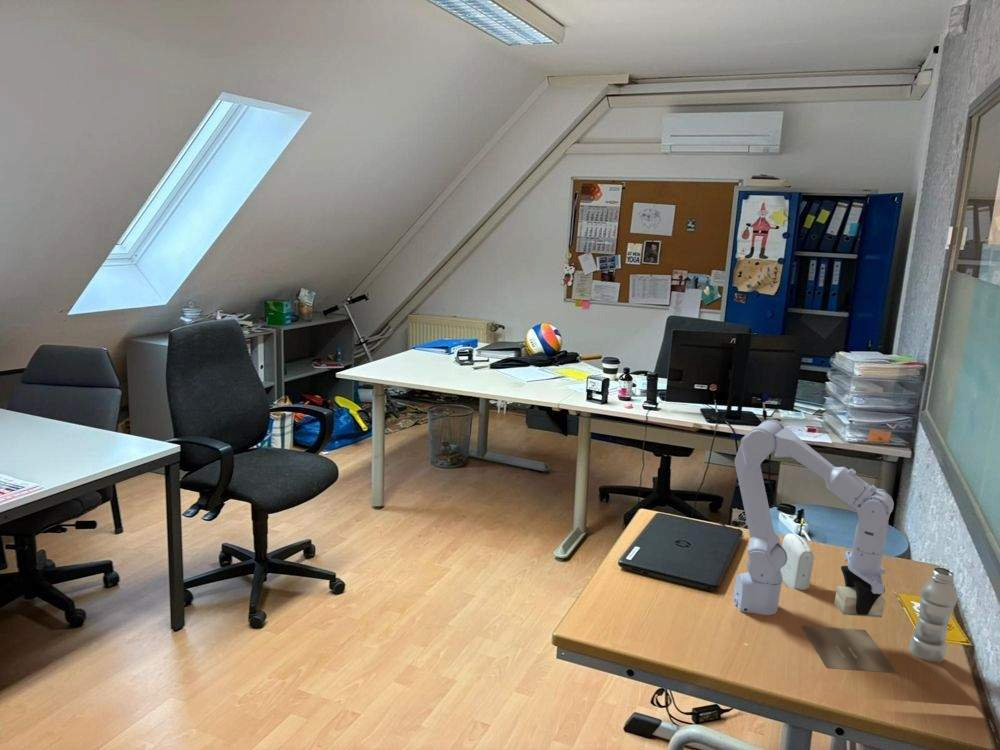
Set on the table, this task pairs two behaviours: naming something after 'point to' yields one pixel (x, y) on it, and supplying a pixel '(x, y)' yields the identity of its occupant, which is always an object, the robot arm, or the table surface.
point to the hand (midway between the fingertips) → (856, 607)
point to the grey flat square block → (847, 649)
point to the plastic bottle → (934, 616)
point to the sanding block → (848, 602)
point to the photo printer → (797, 562)
